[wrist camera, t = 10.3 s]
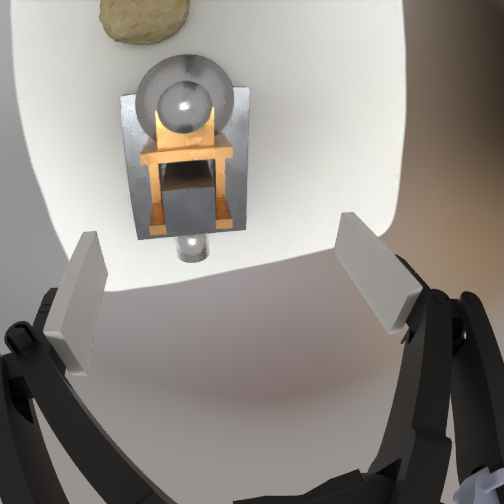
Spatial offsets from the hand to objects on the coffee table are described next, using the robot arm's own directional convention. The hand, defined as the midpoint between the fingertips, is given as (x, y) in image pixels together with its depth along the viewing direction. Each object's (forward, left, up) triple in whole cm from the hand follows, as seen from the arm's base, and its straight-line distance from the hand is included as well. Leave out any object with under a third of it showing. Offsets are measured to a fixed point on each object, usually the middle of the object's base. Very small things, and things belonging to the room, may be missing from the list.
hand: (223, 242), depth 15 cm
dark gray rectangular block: (+2, -2, -20) cm, 20 cm away
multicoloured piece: (0, -2, -21) cm, 21 cm away
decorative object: (-17, -6, -21) cm, 28 cm away
